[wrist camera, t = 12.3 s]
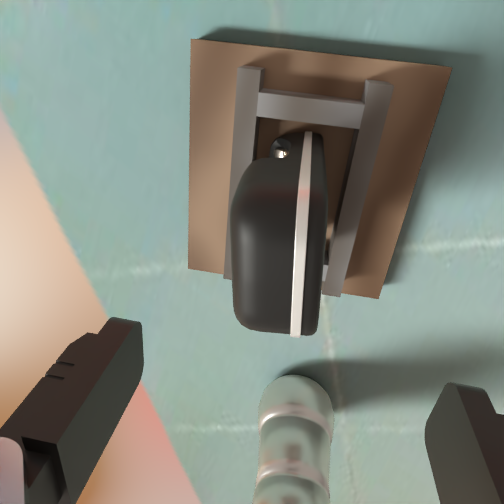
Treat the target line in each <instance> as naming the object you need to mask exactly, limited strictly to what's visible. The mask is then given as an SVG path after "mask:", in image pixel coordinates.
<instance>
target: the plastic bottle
mask: <svg viewBox="0 0 504 504" xmlns="http://www.w3.org/2000/svg"><path fill="white" fill-rule="evenodd" d="M258 429H259V436H260V437H259V458H258V473H257V479H256V486H255V487H256V488H255V490H254V496H253V502H252V504H330V500H329V499H330V493H329V468H330V447H331V442H332V437H333V430H334V412H333V408H332V404H331V400H330V397H329V396H328V394H327V393H326V391H325V390H324V389H323V388H322V387H321V386H320V385H319V384H318V383H317V382H315V381H314V380H312V379H310V378H308V377H304V376H300V375H285V376H282V377H279V378H277V379H275V380H274V381H273V382H272V383H270V384H269V385H268V386H267V387H266V388H265V390H264V392H263V395H262V398H261V400H260V403H259V406H258Z"/></svg>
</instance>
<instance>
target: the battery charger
mask: <svg viewBox="0 0 504 504" xmlns="http://www.w3.org/2000/svg"><path fill="white" fill-rule="evenodd" d="M327 217H328V190H327V175H326V163H325V154H324V141H323V136H322V135H321V134H319V133H312V131H305V133H290V134H285V135H282V136H280V137H278V138H276V139H275V140H274V141H273V143H272V144H271V147H270V152H269V158H260V159H258V160H255V161H252V163H251V164H250V165H249V166H248V167H247V169H246V170H245V172H244V173H243V175H242V177H241V179H240V182H239V184H238V186H237V189H236V192H235V194H234V197H233V200H232V203H231V209H230V241H231V267H232V288H233V307H234V312H235V315H236V318H237V319H238V321H239V322H240V323H241V325H243V326H245V327H246V328H248V329H250V330H255V331H260V332H271V333H283V334H290V336H291V337H299V338H300V335H305V336H309V335H313V334H314V333H315V332H316V331H317V326H318V319H319V308H320V298H321V287H322V277H323V266H324V255H325V244H326V232H327Z"/></svg>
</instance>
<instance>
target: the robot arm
mask: <svg viewBox="0 0 504 504" xmlns="http://www.w3.org/2000/svg"><path fill="white" fill-rule="evenodd" d="M143 366H144V357H143V338H142V325H141V323H140V322H137V321H132V320H127V319H121V318H116V317H112V318H110V319H109V320H108V321H107V322H106V324H105V325H104V326H103V328H102V329H101V330H100V332H99V333H98V334H93V333H86V334H85V335H83V336H82V337H80V338H79V339H77V340H76V341H74V342H73V343H71V344H70V345H69V346H68V347H67V348H66V350H65V351H64V352H63V353H62V354H61V356H60V357H59V358H58V359H57V360H56V363H55V364H53V365H52V367H51V368H50V369H49V370H48V371H47V372H46V374H45V377H42V379H41V380H40V381H39V382H38V384H37V385H36V386H35V387H34V388H33V390H32V391H31V392H30V393H29V394H28V396H27V397H26V398H25V399H24V400H23V402H22V403H21V404H20V405H19V407H18V408H17V409H16V410H15V412H14V413H13V414H12V415H11V416H10V418H9V419H8V420H7V421H6V422H5V424H4V425H3V426H2V427H1V429H0V504H76V502H77V500H78V498H79V496H80V494H81V492H82V490H83V489H84V487H85V485H86V483H87V481H88V479H89V477H90V475H91V473H92V472H93V470H94V468H95V466H96V464H97V462H98V460H99V458H100V457H101V455H102V453H103V451H104V449H105V447H106V445H107V443H108V441H109V439H110V437H111V436H112V434H113V432H114V430H115V428H116V426H117V424H118V422H119V421H120V419H121V417H122V415H123V413H124V411H125V409H126V407H127V405H128V403H129V402H130V400H131V398H132V396H133V394H134V392H135V390H136V388H137V386H138V384H139V382H140V379H141V376H142V372H143ZM425 444H426V449H427V453H428V457H429V461H430V465H431V468H432V472H433V476H434V480H435V484H436V488H437V492H438V496H439V500H440V504H504V415H501V414H496V412H495V409H494V407H493V405H492V403H491V401H490V399H489V397H488V395H487V393H486V392H485V390H483V389H482V388H477V387H472V386H467V385H462V384H456V383H451V382H450V383H447V384H446V385H445V387H444V389H443V391H442V393H441V394H440V396H439V398H438V400H437V402H436V404H435V406H434V408H433V410H432V412H431V414H430V416H429V418H428V420H427V422H426V427H425Z"/></svg>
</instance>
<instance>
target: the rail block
mask: <svg viewBox="0 0 504 504" xmlns="http://www.w3.org/2000/svg"><path fill="white" fill-rule="evenodd" d="M451 71H452V68H451V67H446V66H440V65H431V64H422V63H413V62H403V61H394V60H385V59H376V58H367V57H358V56H349V55H340V54H331V53H322V52H313V51H304V50H295V49H286V48H277V47H267V46H258V45H249V44H240V43H231V42H222V41H213V40H204V39H191V64H190V149H189V234H188V269H194V270H200V271H206V272H213V273H219V274H224V277H223V278H224V279H230V280H232V267H231V241H230V209H231V203H232V200H233V197H234V194H235V192H236V189H237V186H238V184H239V182H240V179H241V177H242V175H243V173H244V172H245V170H246V169H247V167H248V166H249V165H250V164H251V163H252V161H255V160H258V159H260V158H269V152H270V147H271V144H272V143H273V141H274V140H275V139H276V138H278V137H280V136H282V135H285V134H290V133H305V131H312V133H319V134H321V135H322V136H323V141H324V154H325V163H326V175H327V190H328V217H327V232H326V244H325V255H324V266H323V277H322V287H321V290H322V294H323V295H330V296H336V297H340V295H341V293H344V294H351V295H357V296H363V297H369V298H376V299H379V296H380V293H381V289H382V286H383V283H384V280H385V277H386V274H387V271H388V268H389V264H390V261H391V258H392V255H393V252H394V249H395V246H396V243H397V239H398V236H399V233H400V230H401V227H402V224H403V221H404V218H405V214H406V211H407V208H408V205H409V202H410V199H411V196H412V192H413V189H414V186H415V183H416V180H417V177H418V174H419V171H420V167H421V164H422V161H423V158H424V155H425V152H426V149H427V146H428V142H429V139H430V136H431V133H432V130H433V127H434V124H435V121H436V117H437V114H438V111H439V108H440V105H441V102H442V99H443V96H444V92H445V89H446V86H447V83H448V80H449V77H450V74H451Z"/></svg>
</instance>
